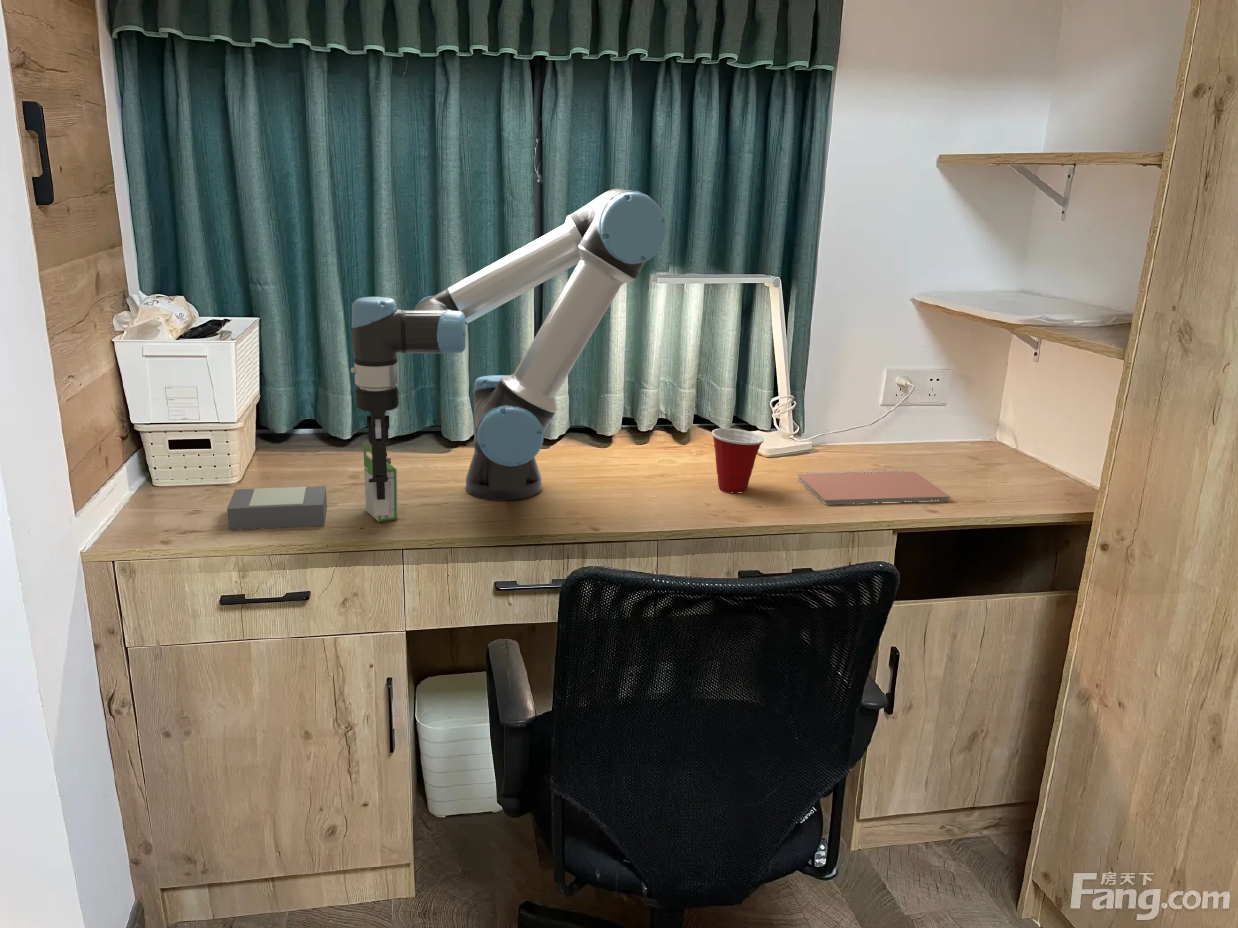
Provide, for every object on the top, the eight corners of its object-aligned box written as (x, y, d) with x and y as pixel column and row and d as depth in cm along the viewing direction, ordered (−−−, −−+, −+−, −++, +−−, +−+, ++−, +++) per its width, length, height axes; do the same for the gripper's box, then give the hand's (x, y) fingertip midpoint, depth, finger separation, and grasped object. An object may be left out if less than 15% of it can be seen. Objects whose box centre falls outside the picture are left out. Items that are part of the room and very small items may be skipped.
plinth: (327, 505, 183) (325, 484, 182) (324, 525, 174) (323, 503, 172) (236, 509, 179) (234, 488, 178) (229, 530, 170) (227, 507, 169)
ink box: (398, 519, 178) (396, 449, 174) (377, 522, 176) (375, 452, 172) (385, 507, 183) (383, 439, 179) (365, 510, 181) (362, 442, 177)
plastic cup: (769, 495, 199) (775, 438, 195) (723, 500, 195) (727, 443, 191) (743, 478, 208) (748, 424, 204) (698, 483, 204) (702, 428, 200)
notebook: (911, 477, 215) (912, 468, 214) (949, 504, 199) (950, 495, 199) (794, 480, 210) (795, 471, 209) (824, 508, 194) (825, 498, 194)
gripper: (356, 373, 181) (361, 488, 188) (353, 401, 162) (359, 528, 169) (397, 372, 182) (401, 486, 189) (399, 400, 163) (403, 526, 171)
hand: (381, 506), depth 179 cm, fingers closed on ink box, 8 cm apart
